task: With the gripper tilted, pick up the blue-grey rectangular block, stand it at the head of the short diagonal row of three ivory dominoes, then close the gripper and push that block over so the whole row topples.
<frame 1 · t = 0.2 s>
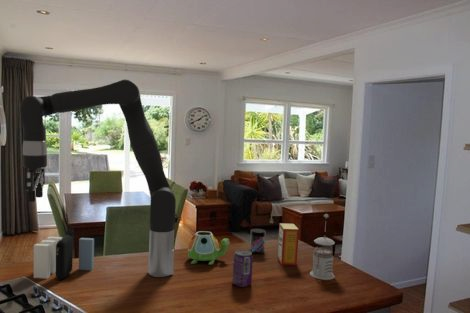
hand: (35, 199, 133), 29 cm above the kitchen counter, tool pointing down, fingers open, 8 cm apart
supplement container: (257, 253, 175), on the kitchen counter
ivory domino 1: (54, 267, 146), on the kitchen counter
blue-grey rectangular block: (86, 269, 146), on the kitchen counter
beverage can: (241, 284, 139), on the kitchen counter
french press: (320, 275, 151), on the kitchen counter
ivory domino 2: (48, 272, 141), on the kitchen counter
ivory domino 3: (41, 277, 137), on the kitchen counter
baking soda box: (286, 261, 166), on the kitchen counter
turtle holder: (206, 260, 162), on the kitchen counter
carrying case or bag: (63, 277, 137), on the kitchen counter
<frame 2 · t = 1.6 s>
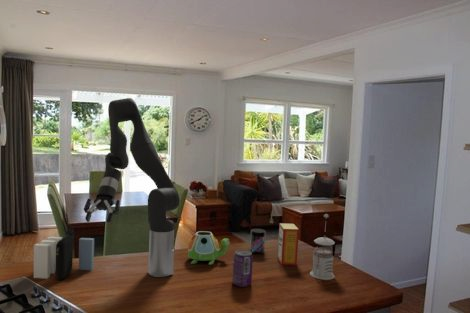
hand: (97, 221, 156), 16 cm above the kitchen counter, tool tilted 45°, fingers open, 8 cm apart
nothing on the kitchen counter moved.
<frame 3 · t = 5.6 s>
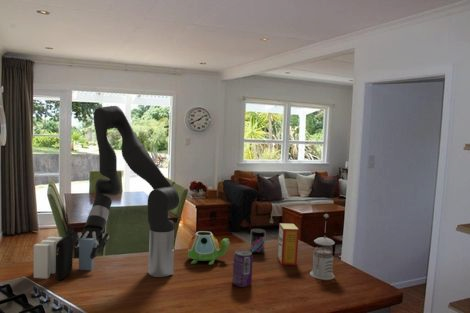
hand: (84, 257, 144), 5 cm above the kitchen counter, tool tilted 45°, fingers closed on blue-grey rectangular block, 5 cm apart
blue-grey rectangular block: (86, 269, 146), on the kitchen counter, touching gripper
everything else where it was.
when the fingers open (6 cm above the kitchen counter, at t = 13.4 s): blue-grey rectangular block stays where it is, on the kitchen counter.
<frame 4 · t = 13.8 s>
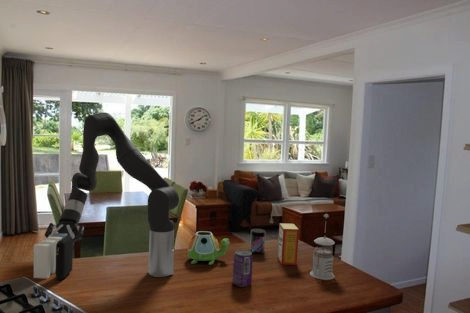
hand: (58, 248, 148), 7 cm above the kitchen counter, tool tilted 45°, fingers open, 8 cm apart
blue-grey rectangular block: (59, 263, 150), on the kitchen counter
everything else where it was.
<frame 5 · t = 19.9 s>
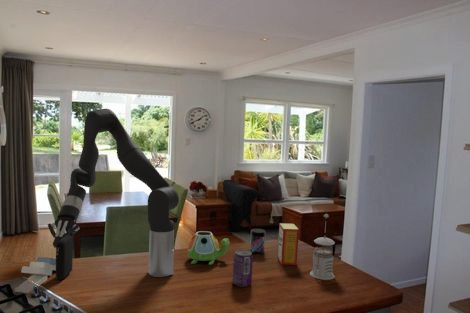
hand: (56, 247, 146), 8 cm above the kitchen counter, tool tilted 45°, fingers closed
ivory domino 1: (51, 267, 143), point 1 cm above the kitchen counter, tilted 64°, touching ivory domino 2, blue-grey rectangular block
blue-grey rectangular block: (57, 263, 148), point 1 cm above the kitchen counter, tilted 64°, touching ivory domino 1
ivory domino 2: (45, 272, 138), point 1 cm above the kitchen counter, tilted 64°, touching ivory domino 1, ivory domino 3
ivory domino 3: (40, 277, 135), on the kitchen counter, tilted 90°, touching ivory domino 2
everything else where it was.
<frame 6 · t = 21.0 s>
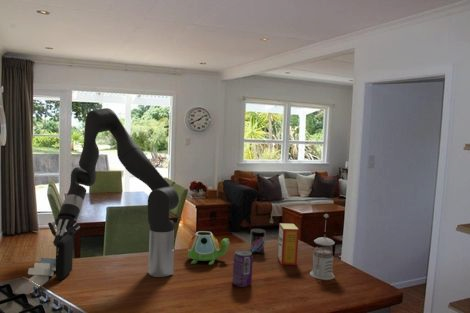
hand: (56, 245, 146), 8 cm above the kitchen counter, tool tilted 45°, fingers closed
ivory domino 1: (51, 268, 142), point 1 cm above the kitchen counter, tilted 65°, touching ivory domino 2, blue-grey rectangular block
ivory domino 2: (46, 272, 137), point 1 cm above the kitchen counter, tilted 65°, touching ivory domino 1
ivory domino 3: (41, 278, 134), point 1 cm above the kitchen counter, tilted 90°
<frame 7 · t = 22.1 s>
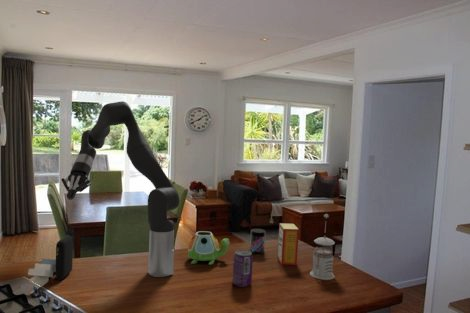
hand: (69, 198, 157), 24 cm above the kitchen counter, tool tilted 45°, fingers closed
ivory domino 2: (45, 273, 136), point 1 cm above the kitchen counter, tilted 65°, touching ivory domino 1, ivory domino 3
ivory domino 3: (41, 279, 134), point 1 cm above the kitchen counter, tilted 90°, touching ivory domino 2
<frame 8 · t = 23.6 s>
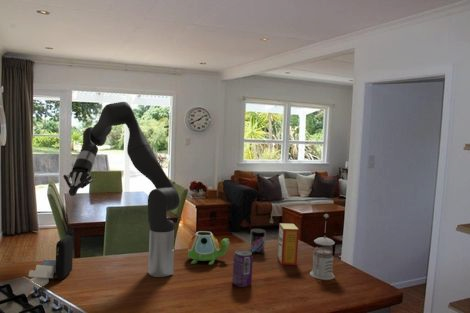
hand: (71, 194, 158), 26 cm above the kitchen counter, tool tilted 45°, fingers closed
ivory domino 2: (46, 274, 135), point 2 cm above the kitchen counter, tilted 67°, touching ivory domino 1
ivory domino 3: (41, 280, 133), point 1 cm above the kitchen counter, tilted 90°
at the end: ivory domino 3 tilted 90°; blue-grey rectangular block inside the target area (3.7 cm from its centre), point 1.2 cm above the kitchen counter; carrying case or bag moved 0.2 cm from its start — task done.
